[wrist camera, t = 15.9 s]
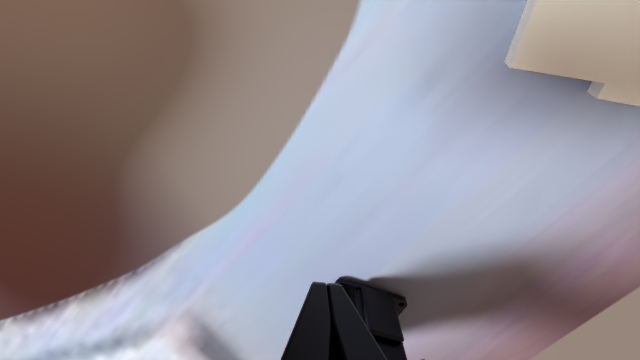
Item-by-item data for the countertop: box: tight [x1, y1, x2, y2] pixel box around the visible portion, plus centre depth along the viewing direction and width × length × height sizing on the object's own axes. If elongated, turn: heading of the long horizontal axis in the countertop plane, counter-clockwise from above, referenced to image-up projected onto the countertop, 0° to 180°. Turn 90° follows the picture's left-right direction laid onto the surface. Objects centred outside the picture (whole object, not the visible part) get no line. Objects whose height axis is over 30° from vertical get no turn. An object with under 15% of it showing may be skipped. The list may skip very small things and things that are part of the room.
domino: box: [504, 0, 640, 86], centre depth 17 cm, size 2×5×5 cm
